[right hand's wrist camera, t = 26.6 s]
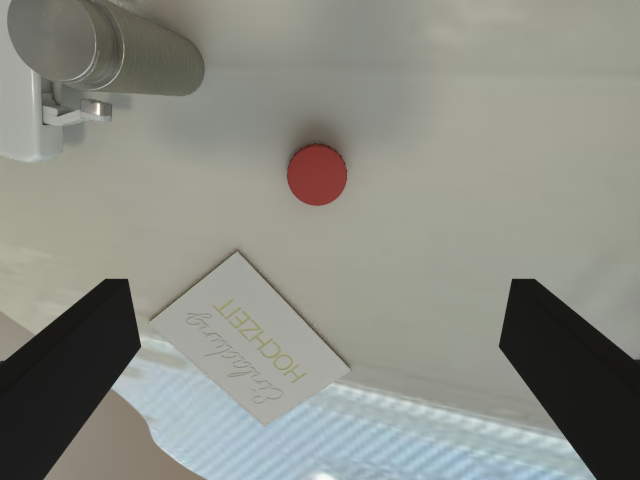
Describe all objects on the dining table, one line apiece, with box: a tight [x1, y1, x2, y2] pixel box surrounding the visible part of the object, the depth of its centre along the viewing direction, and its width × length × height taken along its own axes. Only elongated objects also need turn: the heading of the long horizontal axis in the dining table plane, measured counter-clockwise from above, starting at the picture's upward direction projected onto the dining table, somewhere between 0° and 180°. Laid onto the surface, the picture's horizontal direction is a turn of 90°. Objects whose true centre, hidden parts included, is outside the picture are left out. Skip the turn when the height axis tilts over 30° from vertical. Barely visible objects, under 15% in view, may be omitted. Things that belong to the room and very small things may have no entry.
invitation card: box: [148, 251, 351, 427], centre depth 47 cm, size 21×1×15 cm
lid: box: [287, 143, 347, 206], centre depth 38 cm, size 6×6×2 cm
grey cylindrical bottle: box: [7, 0, 204, 96], centre depth 28 cm, size 5×5×18 cm
